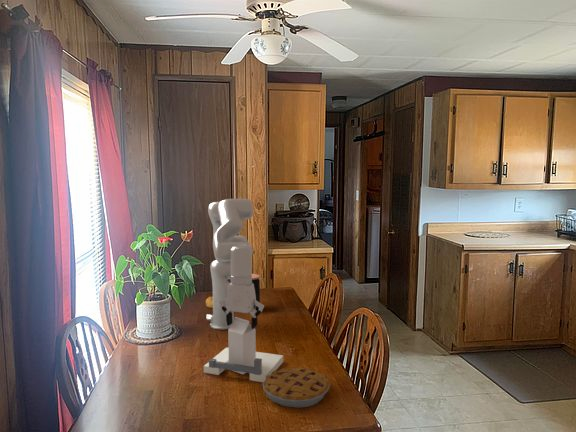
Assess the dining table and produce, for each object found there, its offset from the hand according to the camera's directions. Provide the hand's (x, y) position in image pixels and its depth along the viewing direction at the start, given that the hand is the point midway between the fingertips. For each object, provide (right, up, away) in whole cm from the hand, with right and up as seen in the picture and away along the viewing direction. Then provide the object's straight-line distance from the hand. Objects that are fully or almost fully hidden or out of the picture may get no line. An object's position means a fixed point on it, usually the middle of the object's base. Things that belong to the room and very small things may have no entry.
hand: (241, 325), depth 164 cm
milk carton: (0, -17, +2) cm, 17 cm away
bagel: (-22, -9, +78) cm, 82 cm away
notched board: (+1, -16, +3) cm, 16 cm away
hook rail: (-2, -14, -5) cm, 15 cm away
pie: (+20, -19, -16) cm, 31 cm away
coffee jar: (-3, -9, +72) cm, 73 cm away
